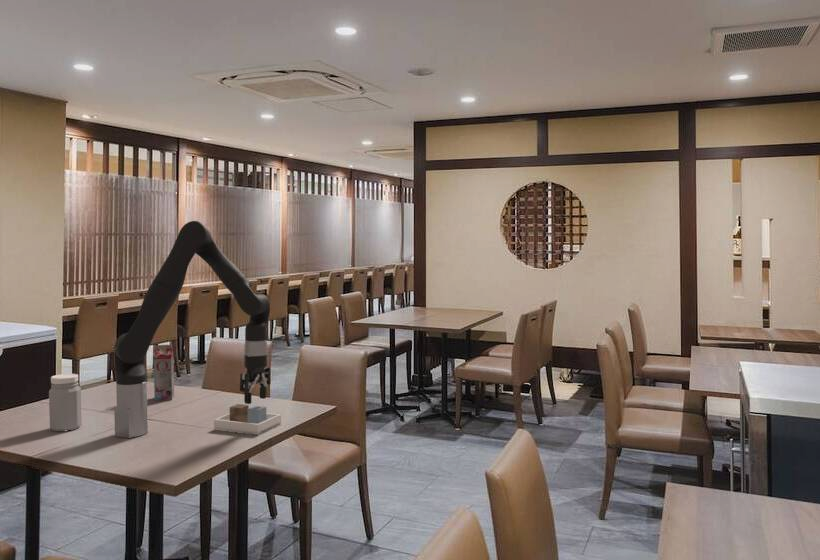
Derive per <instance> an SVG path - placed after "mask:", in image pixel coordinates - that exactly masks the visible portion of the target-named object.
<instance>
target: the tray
mask: <svg viewBox="0 0 820 560" xmlns="http://www.w3.org/2000/svg"><path fill="white" fill-rule="evenodd" d="M280 424H281V425H282V414H278V413H271V412H266V420H265V421H263V422H261V423H259V424H254V423H245V422H237V421H230V412H229V413H227V414H224V415H222V416H219V417H217V418H215V419H213V430H214V431H219V430H220V432H227V431H228V432H229V433H235V432H237V434H238V433H239V434H243V433H245V435H252V434H254V435H253V436H261V435H262V434H265V433H266V431H267V432H269V431H270V429H271V430H273V429H274V427H275V428H277V427H278V425H279V426H280ZM276 426H277V427H276ZM272 428H273V429H272ZM268 430H269V431H268Z"/></svg>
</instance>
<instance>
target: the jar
mask: <svg viewBox="0 0 820 560" xmlns="http://www.w3.org/2000/svg"><path fill="white" fill-rule="evenodd" d="M78 381H79V374H77V373H63V374H62V373H61V374H56V375H52V376H50V387H51V388H50V389H49V391H48V401H49V403H48V407H49V410H48V411H49V429H50V430H55V431H65V430H71V431H73V430H72V429H76V428H78V427H79V428H81V426H82V423H83V420H82V418H83V417H82V389H81V386H79V382H78ZM79 428H78V429H79ZM76 430H77V429H76ZM55 431H54V432H55ZM65 432H66V431H65Z"/></svg>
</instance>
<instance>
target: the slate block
mask: <svg viewBox="0 0 820 560" xmlns="http://www.w3.org/2000/svg"><path fill="white" fill-rule="evenodd" d="M247 413H248V423H254V424H259V423H261V422H263V421H265V420H266V413H267V406H263V405H262V406H261V405H253V406H251V407H249V408H248V409H247Z"/></svg>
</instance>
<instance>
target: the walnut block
mask: <svg viewBox="0 0 820 560" xmlns="http://www.w3.org/2000/svg"><path fill="white" fill-rule="evenodd" d="M248 408H250V407H249V404H243V403H242V404H240V403H237V404H234V405H232V406H229V413H230V421H237V422H245V423H248V413H247V409H248Z"/></svg>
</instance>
